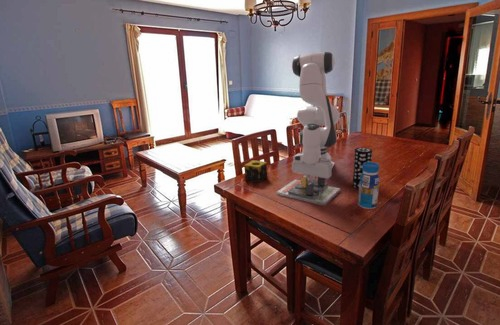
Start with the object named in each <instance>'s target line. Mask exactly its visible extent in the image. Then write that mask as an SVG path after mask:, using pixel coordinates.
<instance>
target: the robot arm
mask: <svg viewBox="0 0 500 325" xmlns="http://www.w3.org/2000/svg"><path fill="white" fill-rule="evenodd" d="M335 64H336V63H335V57H334V55H333V53H332V52H329V51H324V52H312V53H308V54H302V55H297V56H294V58H293V59H292V62H291V71H292V72H293V74H294V75H295V76H297V77H298V78H299V84H298V85H299V86H298V88H299V89H298V90H299V96H300V98H301V100H302V101H303V102H304V103H306V104H309V105H311V106H307V105H306V106H302V107H300V108H299V109H298V111H297V113H296V118H297V121H298V122H299V123H300V124H301V125H302V126H303V129H301V130H300V132H299V142H298V143H299V145H301V146H302V152H299V153H296V154H295V155H293V157H292V160H293V161H292V163H291V171H292V172H293V173H294V174H299V175H303V176H306V178H307V180H308V183H309V182H311V183H314V181H316V179H317V178H318V177H321V178H325V180H326V179H330V178H331V177H332V175H333V174H332V172H333V171H332V169H333V167H334V166H335V162H333V161H332V156H331V154H330V153H329V152H328V149H329V148H332V147H334V145H335V144H336V143H337V140H338V137H337V132H336V128H335V125H337V123H338V122H339V119H340V115H341V114H340V112H339V109H337V108H336V107H335V106H334V105H333V104H332V103H331V102H330V98H329V96H328V94H327V80H326V75H327V74H328V73H331V72H332V71H333V70H334V69H333V68H334V67H335ZM320 126H324V127H320ZM310 177H312V179H311V178H310Z"/></svg>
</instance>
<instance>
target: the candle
mask: <svg viewBox="0 0 500 325" xmlns="http://www.w3.org/2000/svg"><path fill="white" fill-rule="evenodd" d="M267 163H268V162H267V161H263V160H261V161H260V160H254V159H252V160H250V161H249V162H247V163H245V164H244V179H245V180H244V181H246V180H247V181H246V182H250V181H252V182H251V183H257V184H261V183H262V182H263V181H265V180H266V179H267V178H268V170H267V169H268V168H267V166H268V165H267ZM265 178H266V179H265ZM261 181H262V182H261Z"/></svg>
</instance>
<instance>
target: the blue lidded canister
mask: <svg viewBox="0 0 500 325" xmlns="http://www.w3.org/2000/svg"><path fill="white" fill-rule="evenodd" d="M362 170H363V173H362V174H361V176H360V182H359V189H358V201H357V202H358V203H357V204H358V206H359V207H360V208H363V209H367V210H372V209H376V208H377V207H378V198H379V191H380V190H379V189H380V180H381V179H380V175H379V174H378V173H379V170H380V164H379V163H377V162H373V161H371V162H365V163H363V166H362Z"/></svg>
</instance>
